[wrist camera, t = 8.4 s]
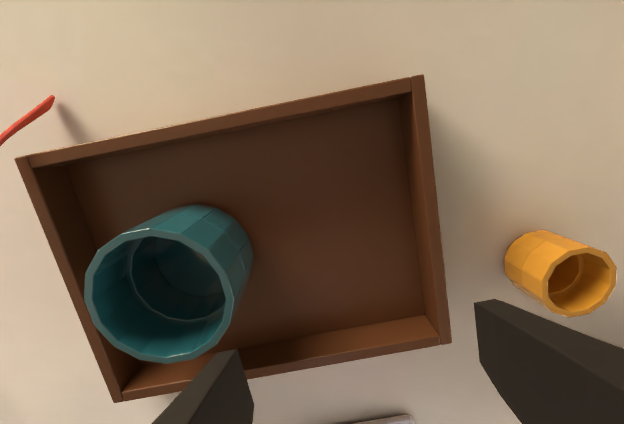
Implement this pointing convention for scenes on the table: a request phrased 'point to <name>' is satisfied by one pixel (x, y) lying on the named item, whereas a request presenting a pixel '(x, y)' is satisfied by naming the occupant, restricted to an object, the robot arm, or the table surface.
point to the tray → (271, 226)
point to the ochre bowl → (560, 272)
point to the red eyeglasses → (27, 119)
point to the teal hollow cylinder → (170, 283)
